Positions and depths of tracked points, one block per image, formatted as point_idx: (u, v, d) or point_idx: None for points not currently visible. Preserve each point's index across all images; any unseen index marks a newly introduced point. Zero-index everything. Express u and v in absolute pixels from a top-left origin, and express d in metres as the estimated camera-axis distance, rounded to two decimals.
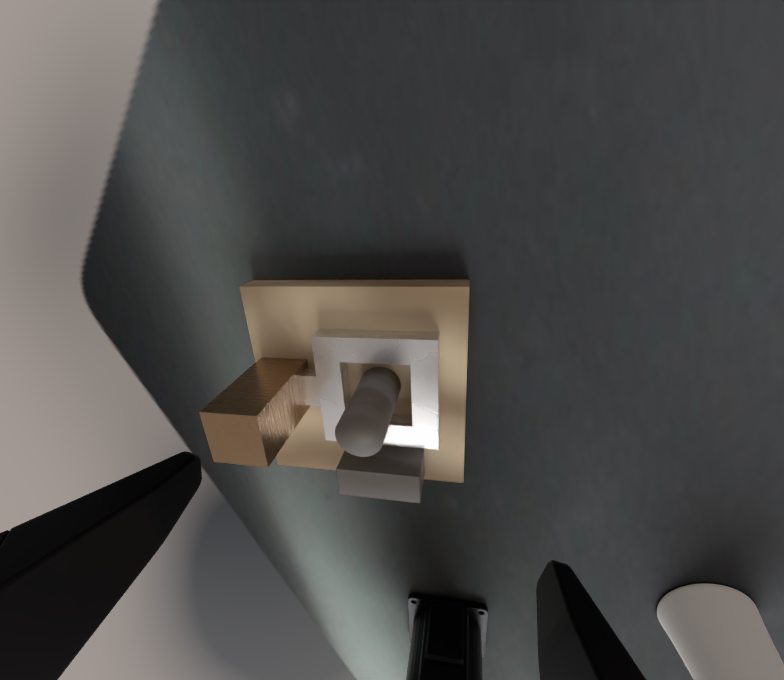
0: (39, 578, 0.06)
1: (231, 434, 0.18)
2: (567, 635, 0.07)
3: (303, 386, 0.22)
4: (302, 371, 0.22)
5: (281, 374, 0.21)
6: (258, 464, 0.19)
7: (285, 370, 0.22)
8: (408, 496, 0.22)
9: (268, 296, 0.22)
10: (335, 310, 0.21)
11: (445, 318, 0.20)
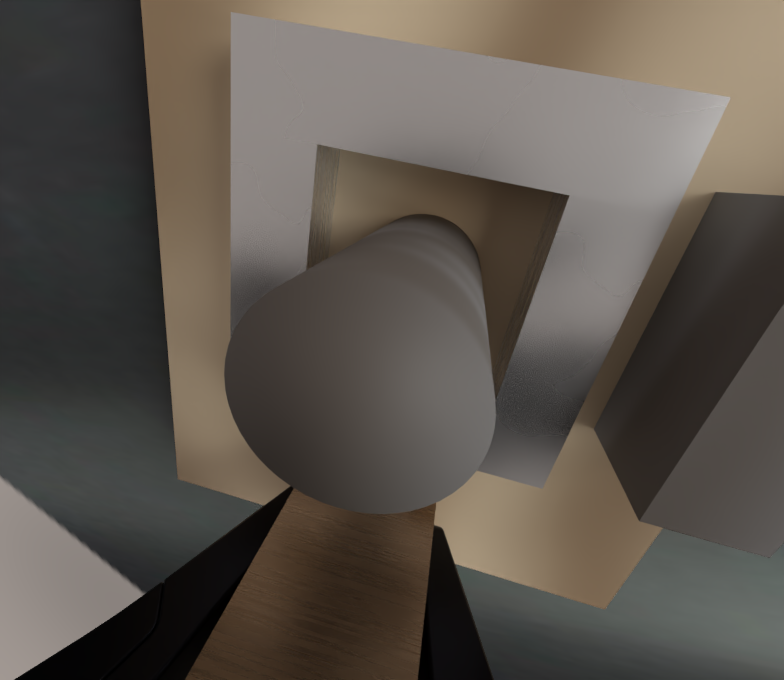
0: (204, 635, 0.06)
1: None
2: None
3: None
4: None
5: None
6: None
7: None
8: None
9: (191, 440, 0.11)
10: (215, 323, 0.09)
11: (230, 12, 0.07)
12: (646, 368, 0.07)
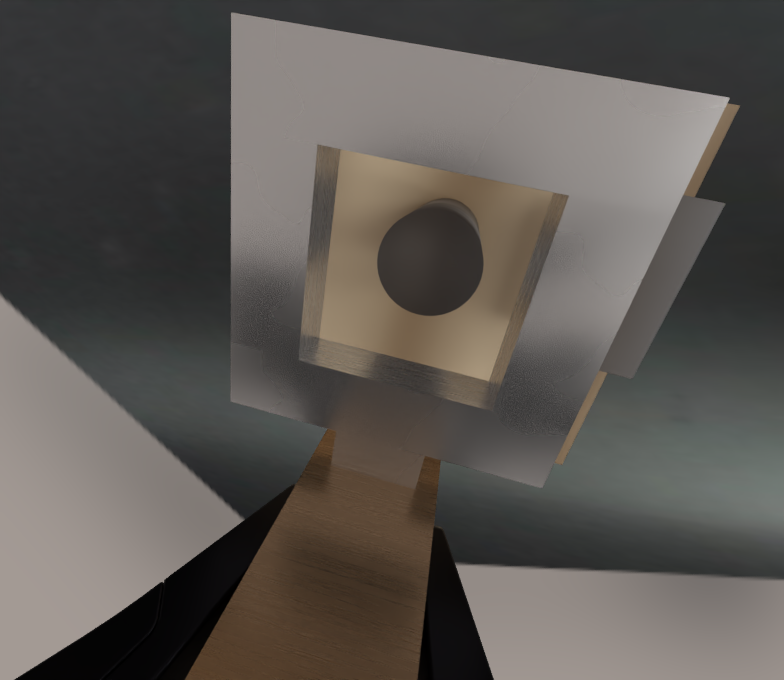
0: (204, 635, 0.06)
1: None
2: None
3: (360, 470, 0.09)
4: (331, 453, 0.09)
5: None
6: None
7: None
8: (693, 227, 0.09)
9: None
10: None
11: None
12: None
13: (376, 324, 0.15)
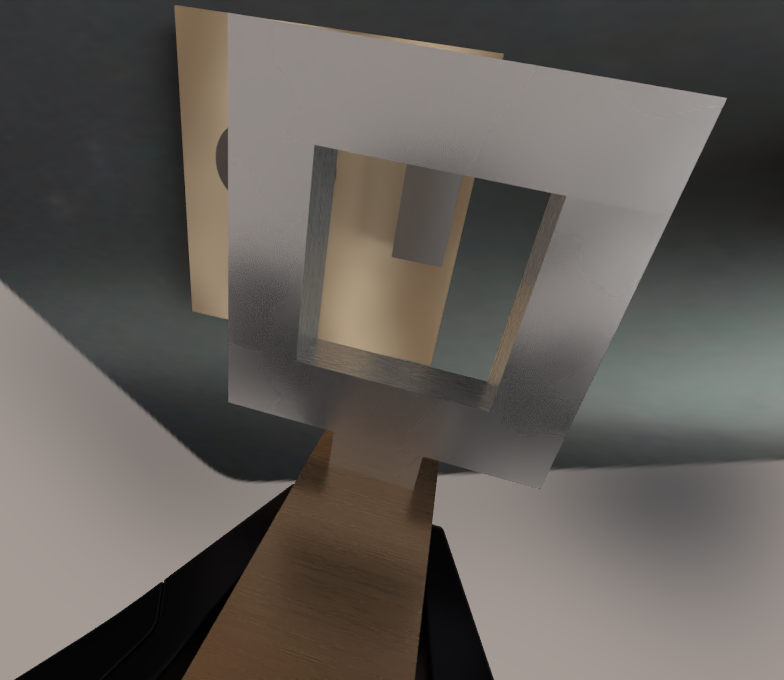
0: (204, 635, 0.06)
1: None
2: None
3: (358, 471, 0.09)
4: (329, 454, 0.09)
5: None
6: None
7: None
8: None
9: (200, 282, 0.19)
10: (212, 205, 0.18)
11: (216, 49, 0.15)
12: None
13: None
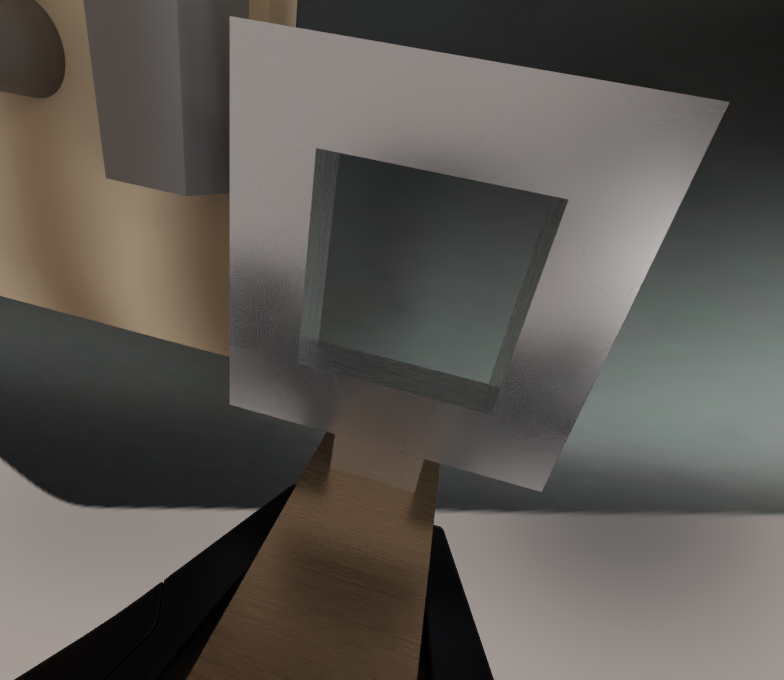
0: (204, 635, 0.06)
1: None
2: None
3: (359, 473, 0.09)
4: (330, 456, 0.09)
5: None
6: None
7: None
8: None
9: None
10: None
11: None
12: None
13: (4, 184, 0.12)
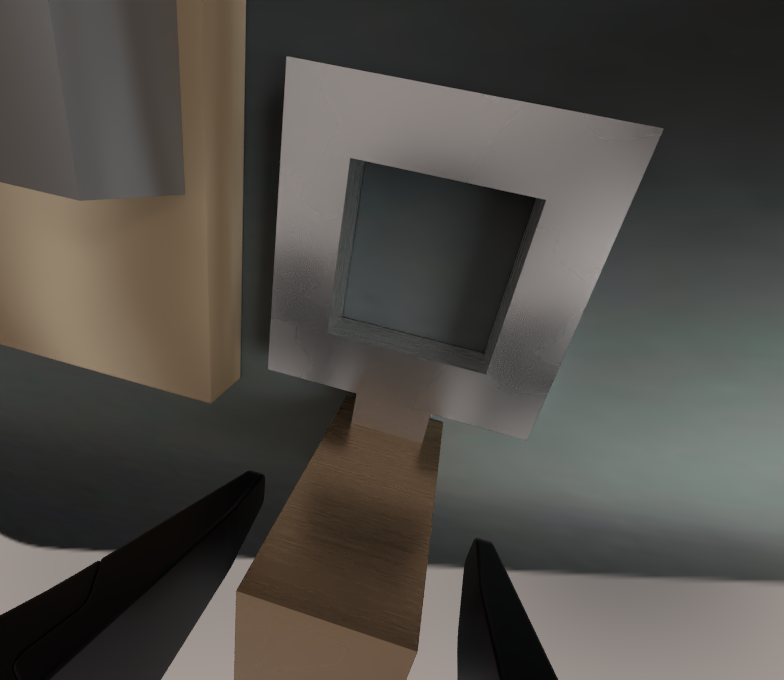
0: (136, 612, 0.06)
1: (295, 665, 0.07)
2: (477, 606, 0.07)
3: (376, 427, 0.10)
4: (351, 415, 0.11)
5: None
6: (403, 666, 0.06)
7: None
8: None
9: None
10: None
11: None
12: None
13: None
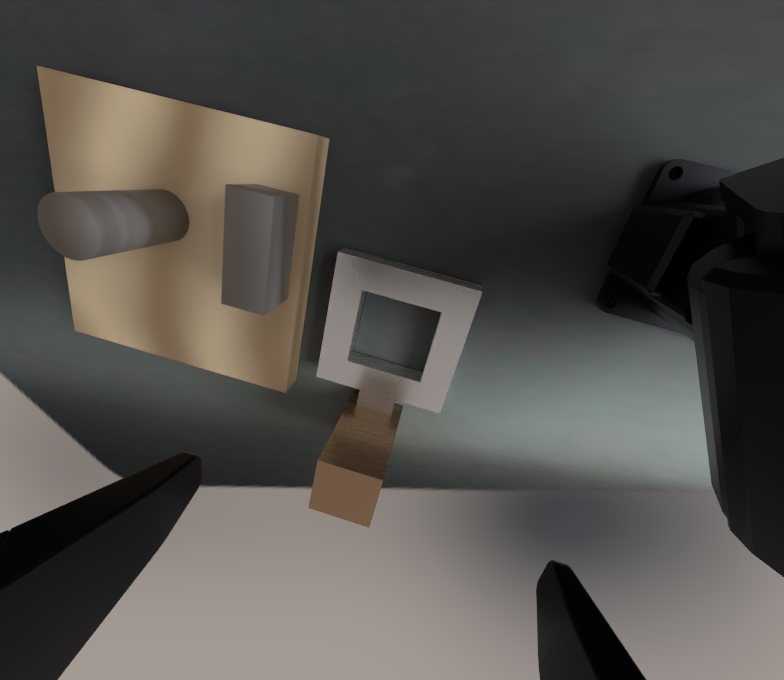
0: (39, 578, 0.06)
1: (336, 493, 0.17)
2: (567, 635, 0.07)
3: (368, 406, 0.21)
4: (356, 400, 0.21)
5: None
6: (378, 488, 0.17)
7: None
8: (262, 212, 0.15)
9: (79, 305, 0.21)
10: None
11: (76, 106, 0.17)
12: None
13: (137, 282, 0.20)
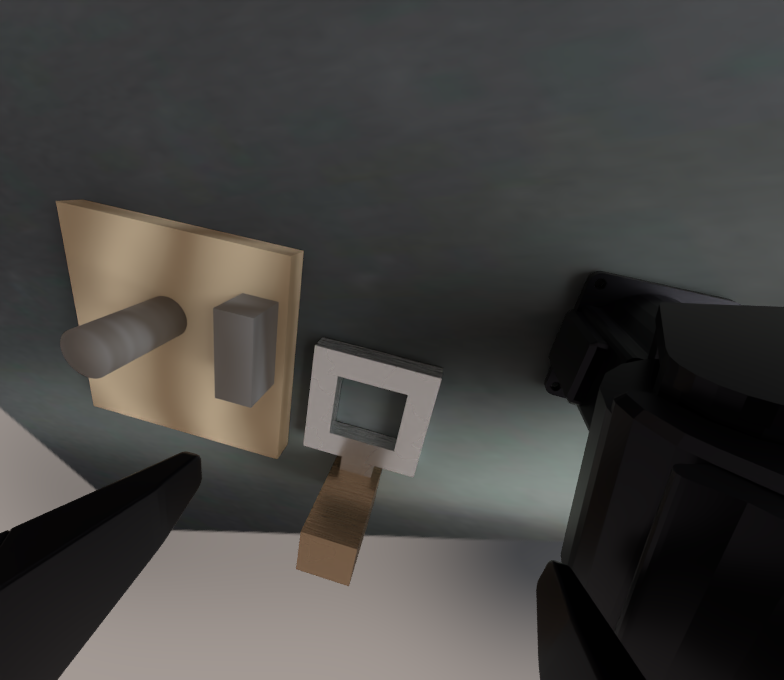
0: (39, 578, 0.06)
1: (318, 558, 0.20)
2: (567, 635, 0.07)
3: (350, 470, 0.23)
4: (340, 464, 0.24)
5: None
6: (353, 555, 0.19)
7: None
8: (244, 329, 0.17)
9: (97, 385, 0.24)
10: None
11: (89, 232, 0.20)
12: None
13: (145, 368, 0.23)
